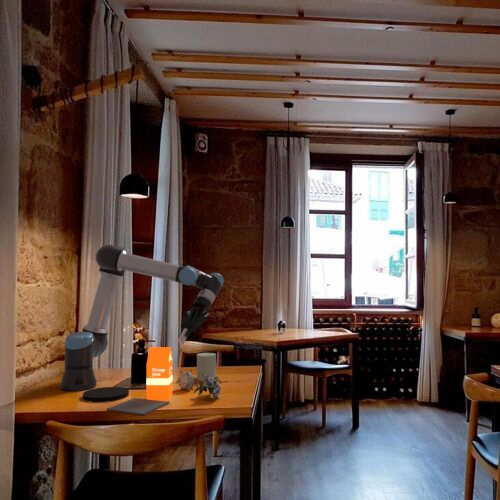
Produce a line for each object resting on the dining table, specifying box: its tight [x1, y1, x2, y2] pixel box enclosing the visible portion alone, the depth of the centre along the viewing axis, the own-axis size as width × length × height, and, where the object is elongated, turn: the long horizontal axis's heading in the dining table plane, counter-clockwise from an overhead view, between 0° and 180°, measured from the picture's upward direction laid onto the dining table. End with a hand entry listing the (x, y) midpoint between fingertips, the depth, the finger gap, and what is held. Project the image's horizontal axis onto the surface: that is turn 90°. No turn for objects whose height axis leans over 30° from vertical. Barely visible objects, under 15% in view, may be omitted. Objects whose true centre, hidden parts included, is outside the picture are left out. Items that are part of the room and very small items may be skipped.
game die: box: [175, 369, 197, 392], centre depth 191 cm, size 9×8×10 cm
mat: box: [106, 397, 170, 416], centre depth 165 cm, size 16×16×1 cm
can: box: [196, 352, 217, 382], centre depth 212 cm, size 9×9×12 cm
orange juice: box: [145, 346, 173, 402], centre depth 178 cm, size 8×9×20 cm
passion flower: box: [193, 373, 223, 400], centre depth 177 cm, size 11×11×12 cm
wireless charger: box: [82, 386, 130, 403], centre depth 181 cm, size 18×18×2 cm
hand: (180, 342), depth 189 cm, fingers closed
